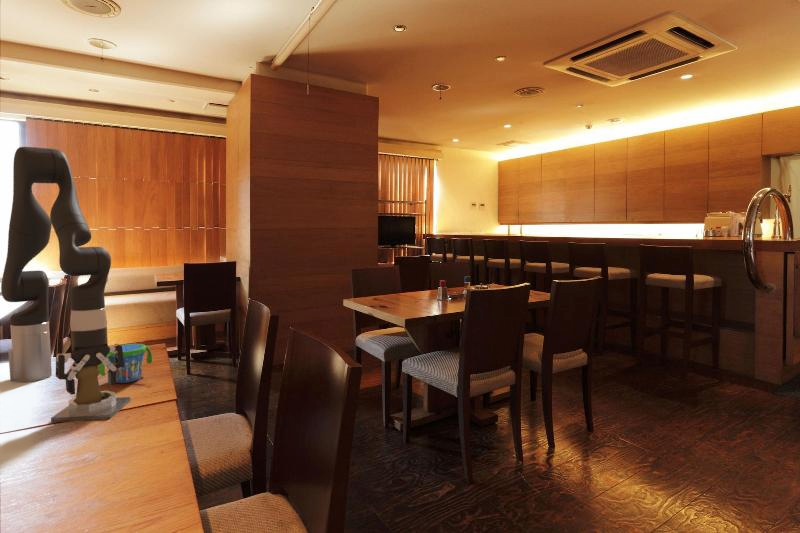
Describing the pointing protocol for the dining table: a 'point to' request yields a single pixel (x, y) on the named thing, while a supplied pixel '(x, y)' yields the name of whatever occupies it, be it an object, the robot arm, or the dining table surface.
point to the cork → (88, 385)
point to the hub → (92, 408)
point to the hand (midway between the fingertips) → (92, 389)
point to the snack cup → (129, 362)
